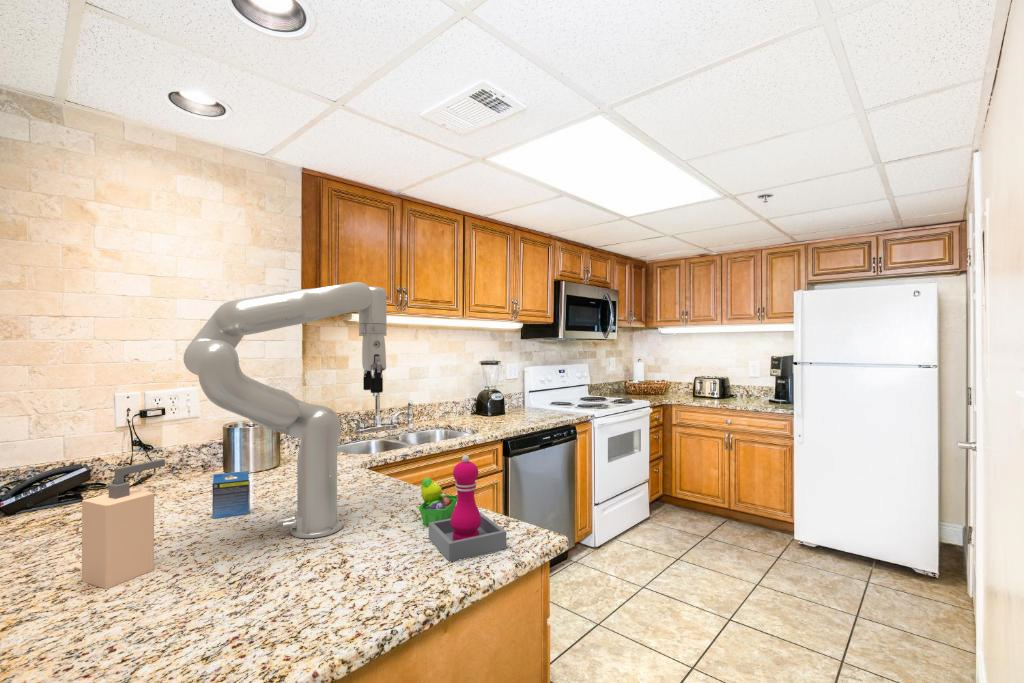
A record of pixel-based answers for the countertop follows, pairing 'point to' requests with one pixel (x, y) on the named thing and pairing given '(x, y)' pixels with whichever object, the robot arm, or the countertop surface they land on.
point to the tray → (467, 539)
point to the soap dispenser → (118, 531)
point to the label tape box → (230, 494)
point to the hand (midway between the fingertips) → (372, 391)
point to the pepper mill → (465, 501)
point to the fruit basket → (435, 503)
